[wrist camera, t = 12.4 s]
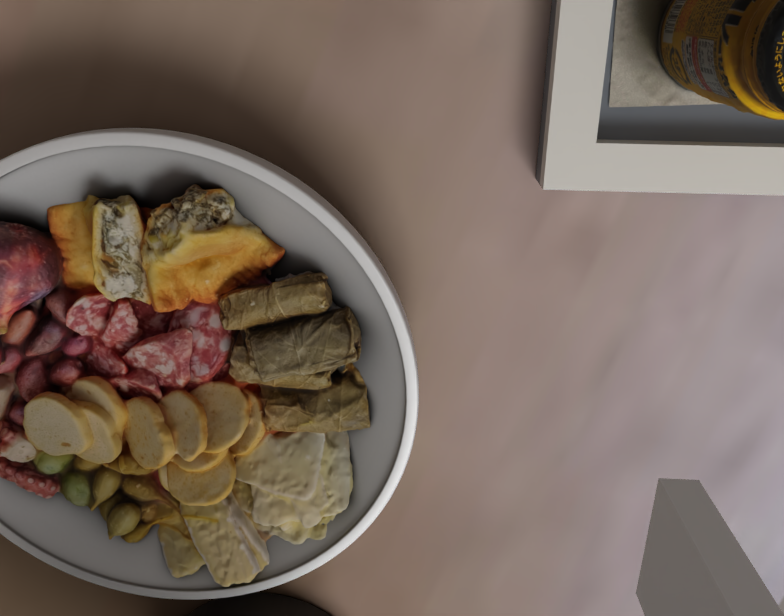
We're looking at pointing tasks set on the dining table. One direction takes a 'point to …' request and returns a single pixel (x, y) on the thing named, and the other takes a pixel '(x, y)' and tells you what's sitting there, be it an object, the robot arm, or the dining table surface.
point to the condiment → (699, 54)
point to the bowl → (191, 367)
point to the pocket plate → (640, 125)
